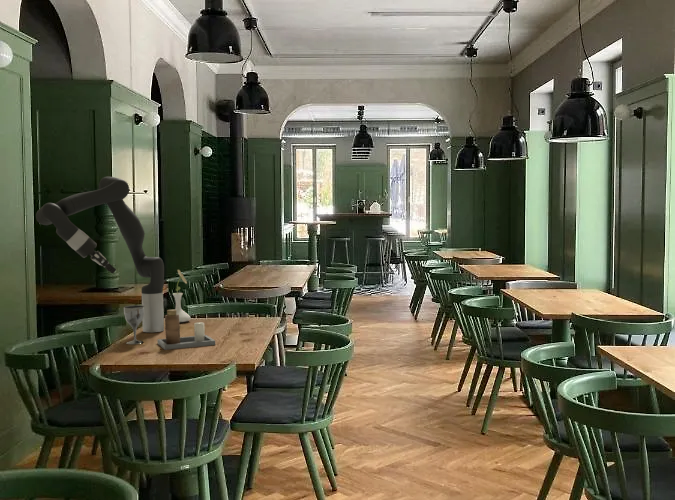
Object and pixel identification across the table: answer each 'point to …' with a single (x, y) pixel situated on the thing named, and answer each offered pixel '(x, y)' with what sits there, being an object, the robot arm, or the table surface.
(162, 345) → the condiment tray
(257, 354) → the table surface
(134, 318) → the wine glass
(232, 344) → the table surface
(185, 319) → the flower in vase
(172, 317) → the brown bottle
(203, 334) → the salt shaker
